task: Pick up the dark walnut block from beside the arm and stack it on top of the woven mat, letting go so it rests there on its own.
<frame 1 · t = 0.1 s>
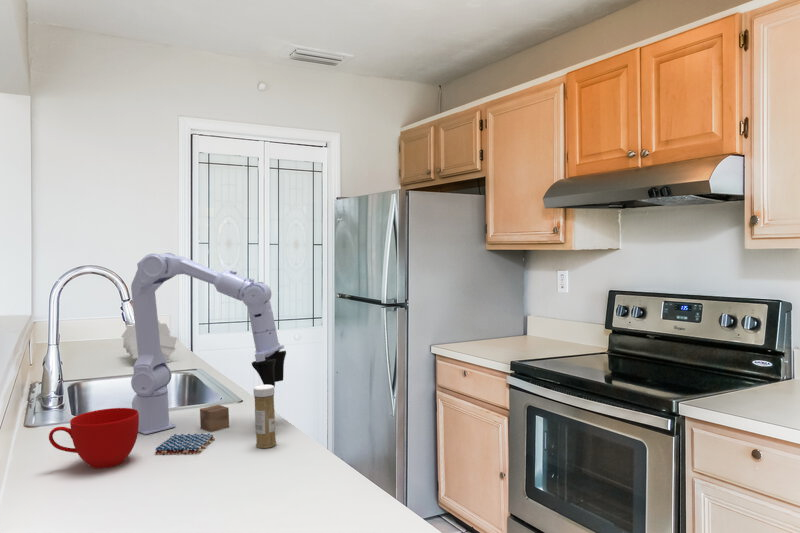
hand: (274, 384, 149), 11 cm above the countertop, tool pointing down, fingers open, 7 cm apart
woven mat: (185, 450, 135), on the countertop
ceramic cup: (96, 465, 126), on the countertop
sprinkles bottle: (266, 446, 135), on the countertop
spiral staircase: (149, 361, 246), on the countertop
walnut block: (214, 428, 150), on the countertop
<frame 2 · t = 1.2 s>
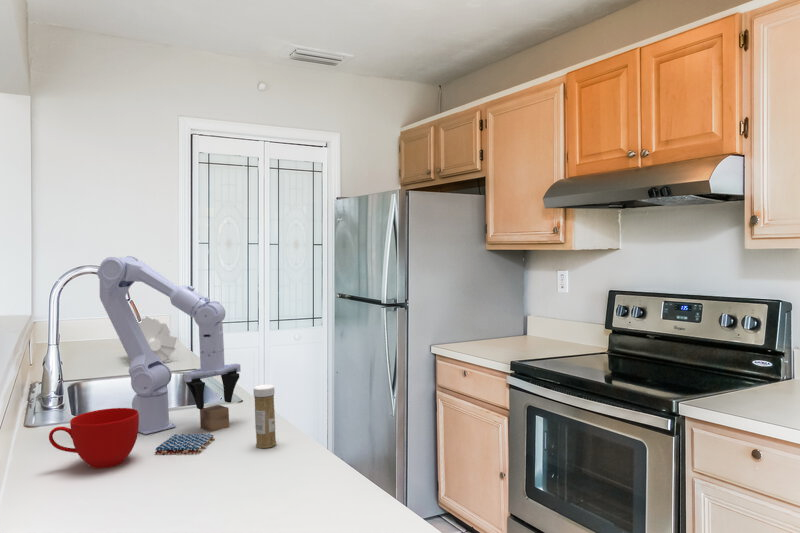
hand: (214, 405, 149), 6 cm above the countertop, tool pointing down, fingers open, 7 cm apart
nothing on the countertop moved.
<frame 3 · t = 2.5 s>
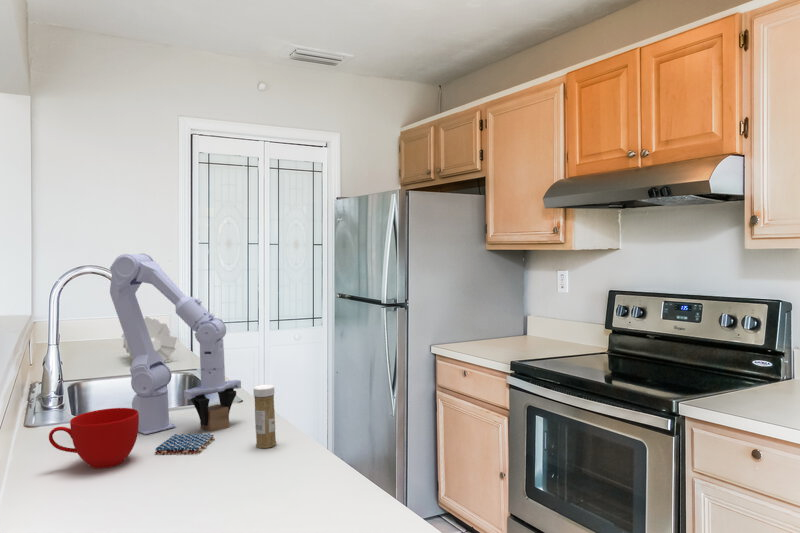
hand: (214, 422, 150), 1 cm above the countertop, tool pointing down, fingers closed on walnut block, 5 cm apart
walnut block: (214, 427, 150), on the countertop, touching gripper
everything else where it was.
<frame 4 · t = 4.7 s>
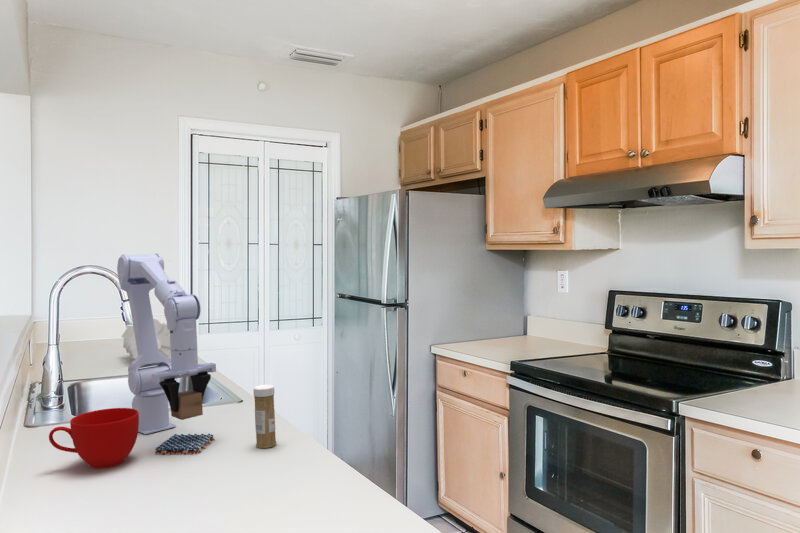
hand: (186, 408, 136), 8 cm above the countertop, tool pointing down, fingers closed on walnut block, 5 cm apart
walnut block: (187, 415, 136), point 7 cm above the countertop, touching gripper
everything else where it was.
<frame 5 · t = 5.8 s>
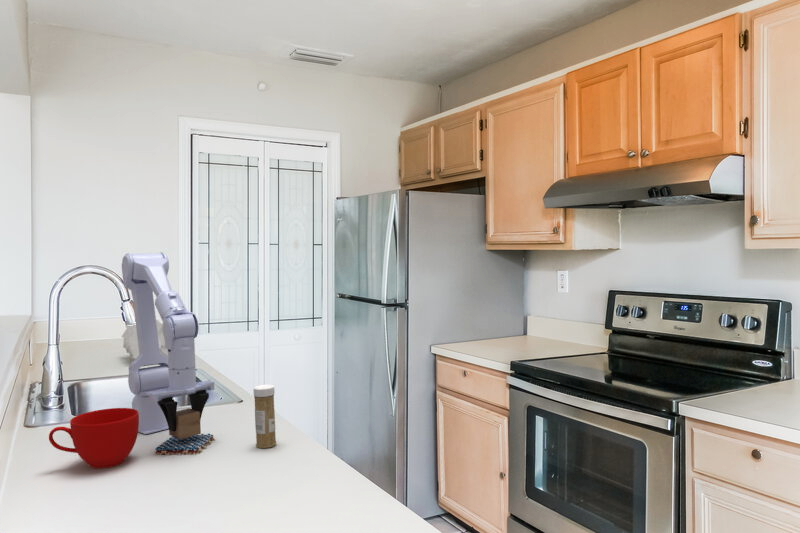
hand: (184, 427, 135), 4 cm above the countertop, tool pointing down, fingers closed on walnut block, 5 cm apart
walnut block: (185, 434, 135), point 3 cm above the countertop, touching gripper
everything else where it was.
when the fingers open (4 cm above the countertop, at t = 6.7 s): walnut block drops 1 cm, resting on woven mat.
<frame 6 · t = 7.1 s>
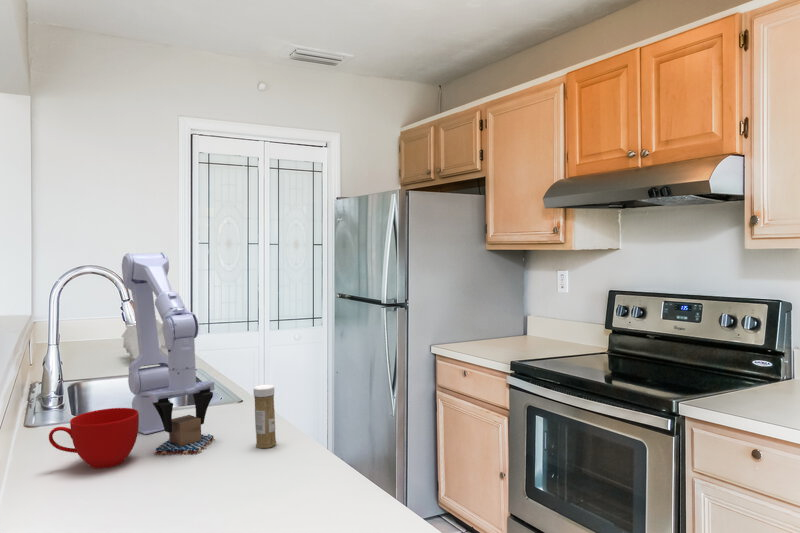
hand: (184, 427, 135), 4 cm above the countertop, tool pointing down, fingers open, 7 cm apart
woven mat: (185, 450, 135), on the countertop, touching walnut block
walnut block: (185, 441, 135), point 1 cm above the countertop, touching woven mat
everything else where it was.
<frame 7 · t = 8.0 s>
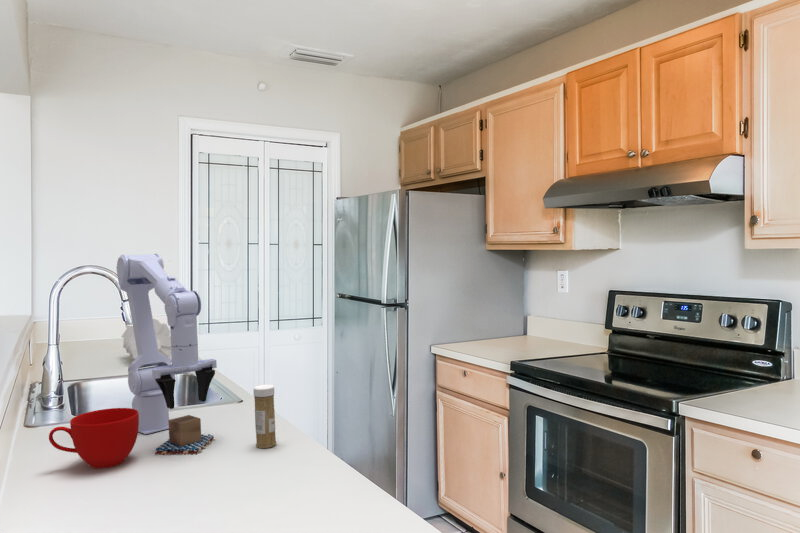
hand: (186, 404, 136), 9 cm above the countertop, tool pointing down, fingers open, 7 cm apart
nothing on the countertop moved.
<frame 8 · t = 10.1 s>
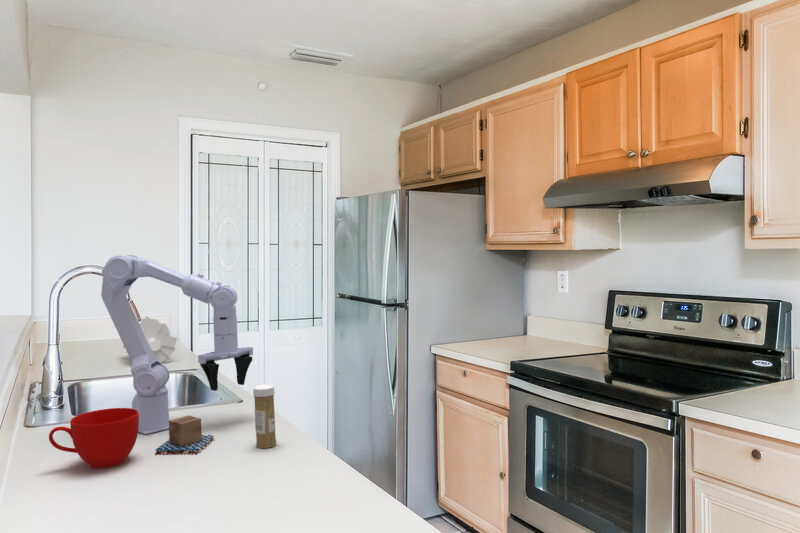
hand: (227, 387, 152), 9 cm above the countertop, tool pointing down, fingers open, 7 cm apart
nothing on the countertop moved.
at the end: walnut block inside the target area on the woven mat (0.2 cm from its centre), point 2.2 cm above the woven mat's base; the gripper is holding nothing; walnut block tilted 0° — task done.
